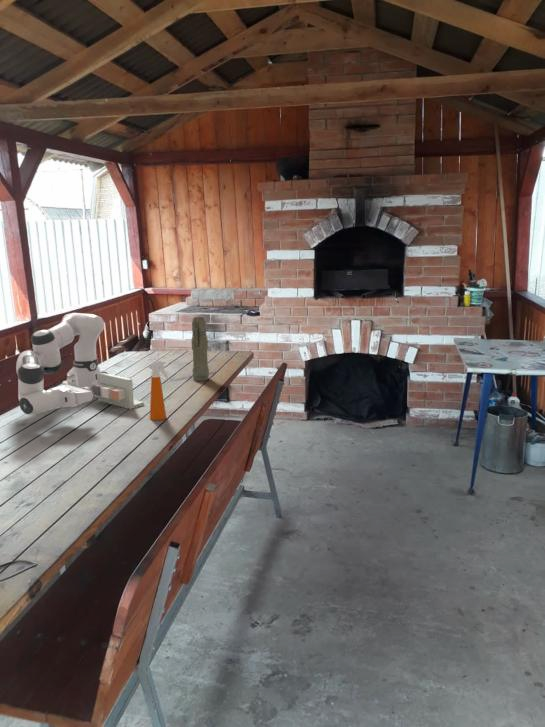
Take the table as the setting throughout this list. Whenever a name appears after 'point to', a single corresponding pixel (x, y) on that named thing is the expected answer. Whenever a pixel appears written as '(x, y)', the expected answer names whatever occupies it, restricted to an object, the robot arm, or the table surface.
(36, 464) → the table surface
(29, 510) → the table surface
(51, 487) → the table surface
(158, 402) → the spray bottle
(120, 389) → the button terracotta
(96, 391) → the button charcoal
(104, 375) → the panel
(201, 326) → the green thermos flask
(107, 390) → the button cream
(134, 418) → the table surface
